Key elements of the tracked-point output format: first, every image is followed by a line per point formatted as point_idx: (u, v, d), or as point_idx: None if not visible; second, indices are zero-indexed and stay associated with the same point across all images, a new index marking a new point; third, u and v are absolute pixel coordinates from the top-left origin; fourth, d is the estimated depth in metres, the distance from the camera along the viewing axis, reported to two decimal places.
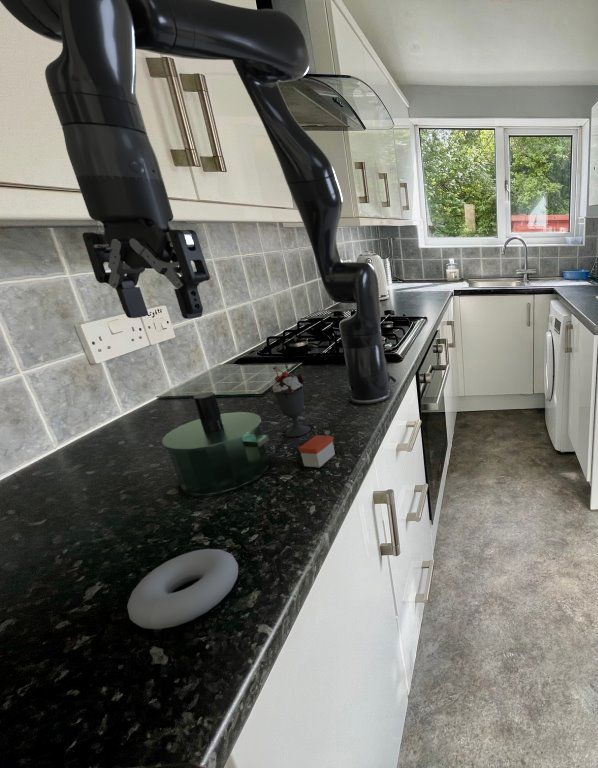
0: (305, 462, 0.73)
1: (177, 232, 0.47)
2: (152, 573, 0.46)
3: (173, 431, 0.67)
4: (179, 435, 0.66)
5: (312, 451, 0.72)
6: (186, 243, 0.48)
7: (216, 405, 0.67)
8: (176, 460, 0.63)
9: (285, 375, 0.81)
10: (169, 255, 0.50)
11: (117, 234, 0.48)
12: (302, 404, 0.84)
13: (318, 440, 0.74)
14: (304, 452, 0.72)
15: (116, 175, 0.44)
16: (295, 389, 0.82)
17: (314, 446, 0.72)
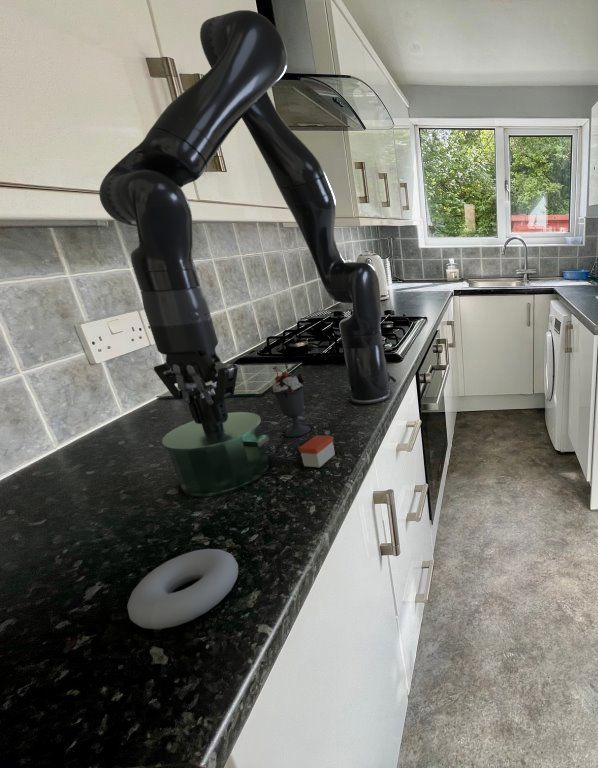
0: (305, 462, 0.73)
1: (225, 372, 0.62)
2: (152, 573, 0.46)
3: (173, 431, 0.67)
4: (179, 435, 0.66)
5: (312, 451, 0.72)
6: (228, 378, 0.63)
7: None
8: (176, 460, 0.63)
9: (285, 375, 0.81)
10: None
11: (176, 359, 0.63)
12: (302, 404, 0.84)
13: (318, 440, 0.74)
14: (304, 452, 0.72)
15: (180, 324, 0.59)
16: (295, 389, 0.82)
17: (314, 446, 0.72)
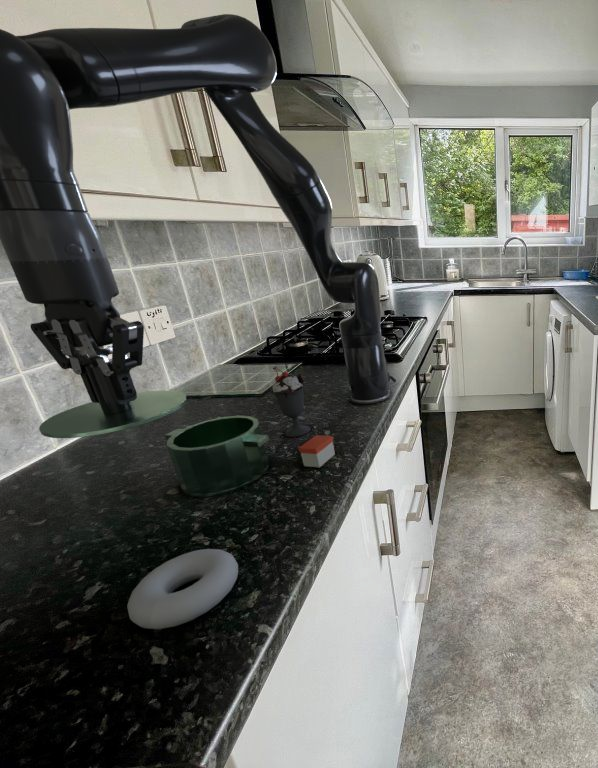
0: (305, 462, 0.73)
1: (122, 330, 0.45)
2: (152, 573, 0.46)
3: (63, 413, 0.50)
4: (68, 417, 0.49)
5: (312, 451, 0.72)
6: (128, 338, 0.46)
7: None
8: (176, 460, 0.63)
9: (285, 375, 0.81)
10: None
11: (58, 313, 0.46)
12: (302, 404, 0.84)
13: (318, 440, 0.74)
14: (304, 452, 0.72)
15: (51, 260, 0.42)
16: (295, 389, 0.82)
17: (314, 446, 0.72)
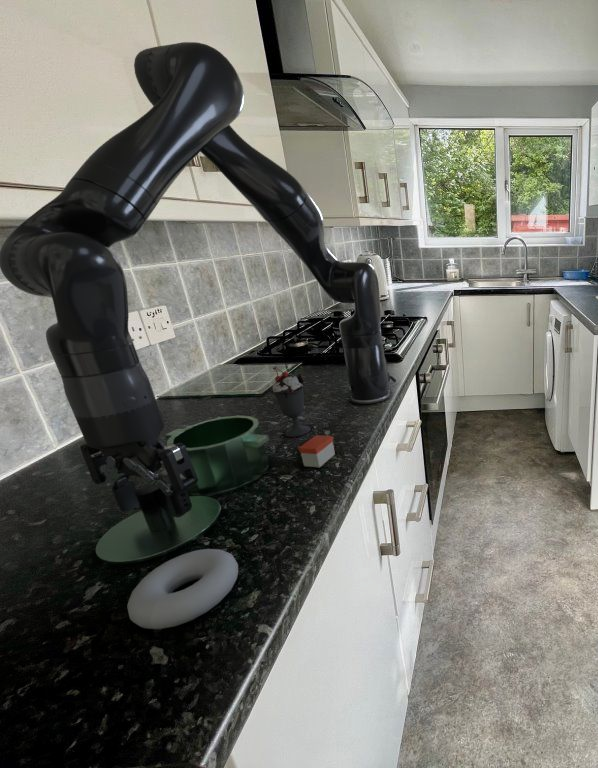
0: (305, 462, 0.73)
1: (167, 454, 0.51)
2: (152, 573, 0.46)
3: (113, 529, 0.56)
4: (118, 536, 0.55)
5: (312, 451, 0.72)
6: (175, 460, 0.52)
7: (164, 499, 0.56)
8: None
9: (285, 375, 0.81)
10: (160, 463, 0.54)
11: (112, 449, 0.52)
12: (302, 404, 0.84)
13: (318, 440, 0.74)
14: (304, 452, 0.72)
15: (110, 414, 0.48)
16: (295, 389, 0.82)
17: (314, 446, 0.72)
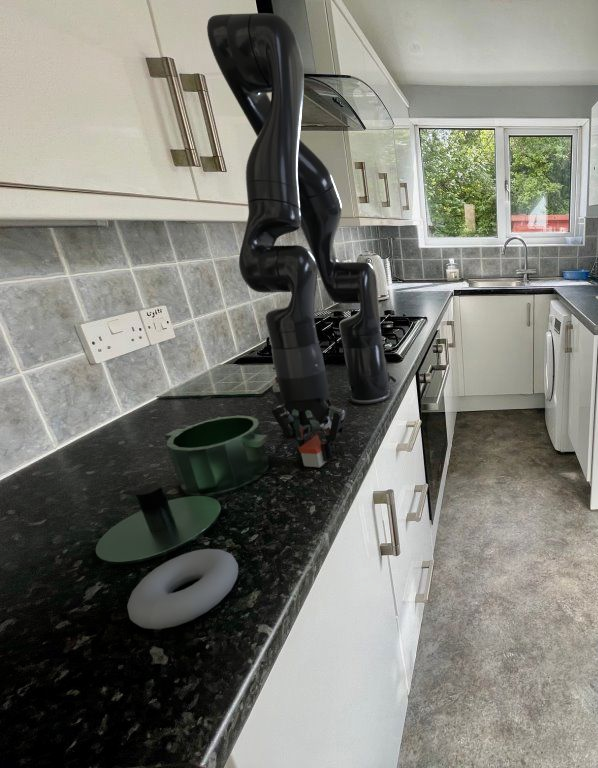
0: (305, 462, 0.73)
1: (340, 415, 0.70)
2: (152, 573, 0.46)
3: (113, 529, 0.56)
4: (118, 536, 0.55)
5: (312, 451, 0.72)
6: (341, 420, 0.71)
7: (164, 499, 0.56)
8: (176, 460, 0.63)
9: None
10: None
11: (294, 404, 0.71)
12: None
13: (318, 440, 0.74)
14: (304, 452, 0.72)
15: (305, 376, 0.66)
16: None
17: (314, 446, 0.72)
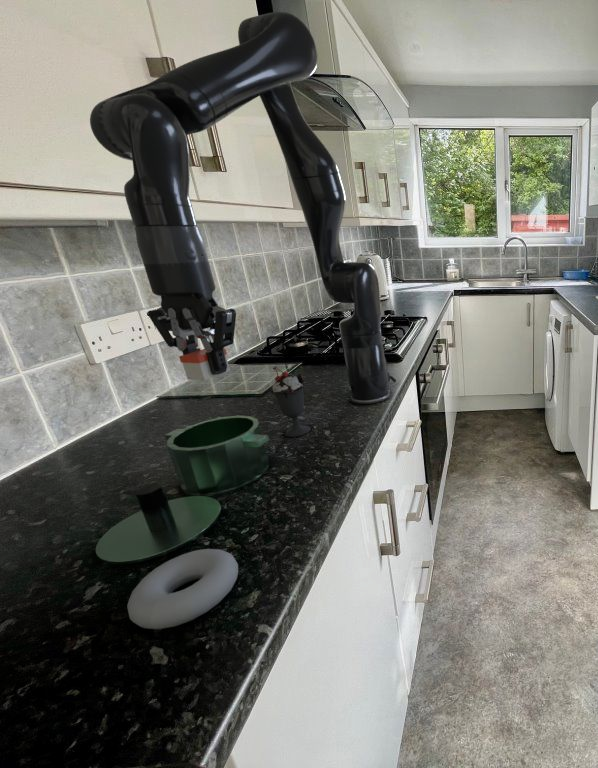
0: (188, 374, 0.63)
1: (223, 315, 0.60)
2: (152, 573, 0.46)
3: (113, 529, 0.56)
4: (118, 536, 0.55)
5: (194, 360, 0.61)
6: (226, 322, 0.61)
7: (164, 499, 0.56)
8: (176, 460, 0.63)
9: (285, 375, 0.81)
10: None
11: (172, 303, 0.60)
12: (302, 404, 0.84)
13: (206, 351, 0.64)
14: (186, 361, 0.62)
15: (175, 262, 0.56)
16: (295, 389, 0.82)
17: (198, 355, 0.62)
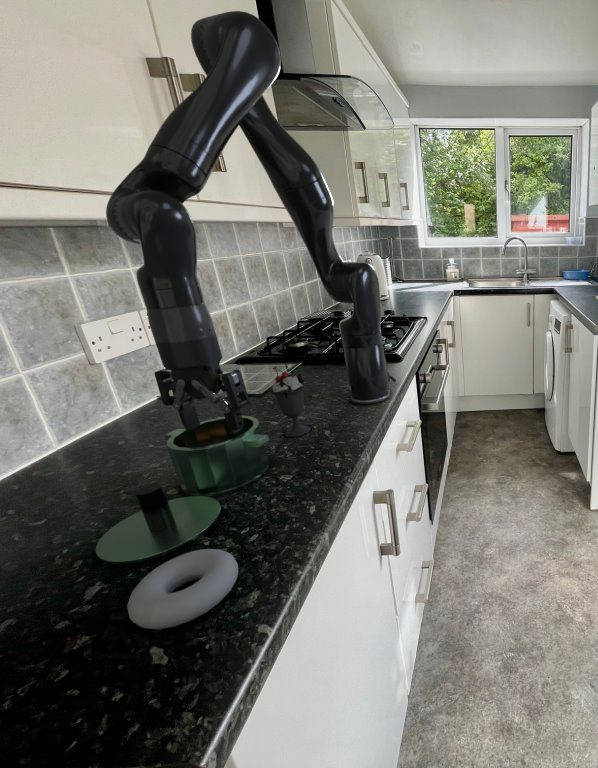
0: None
1: (228, 376, 0.62)
2: (152, 573, 0.46)
3: (113, 529, 0.56)
4: (118, 536, 0.55)
5: None
6: (234, 382, 0.63)
7: (164, 499, 0.56)
8: (176, 460, 0.63)
9: (285, 375, 0.81)
10: (219, 387, 0.65)
11: (181, 374, 0.64)
12: (302, 404, 0.84)
13: None
14: None
15: (185, 340, 0.60)
16: (295, 389, 0.82)
17: None
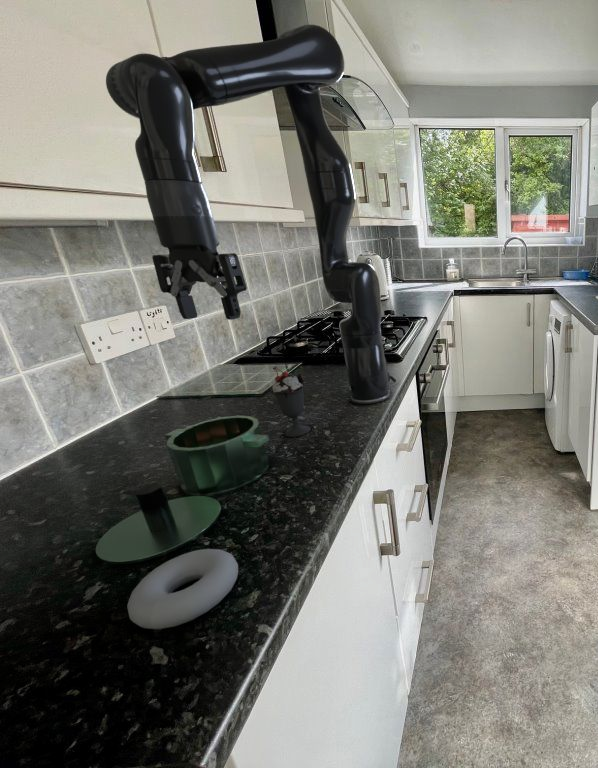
0: None
1: (225, 256, 0.63)
2: (152, 573, 0.46)
3: (113, 529, 0.56)
4: (118, 536, 0.55)
5: None
6: (230, 263, 0.64)
7: (164, 499, 0.56)
8: (176, 460, 0.63)
9: (285, 375, 0.81)
10: (216, 272, 0.66)
11: (179, 256, 0.65)
12: (302, 404, 0.84)
13: None
14: None
15: (182, 215, 0.61)
16: (295, 389, 0.82)
17: None
